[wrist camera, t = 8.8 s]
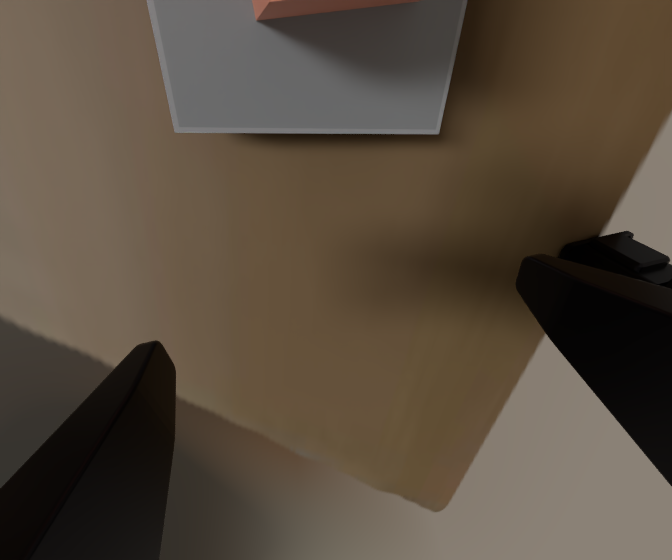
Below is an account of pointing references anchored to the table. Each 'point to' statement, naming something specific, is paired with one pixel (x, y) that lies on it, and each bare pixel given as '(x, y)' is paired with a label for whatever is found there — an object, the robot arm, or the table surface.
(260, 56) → the grey box
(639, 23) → the table surface
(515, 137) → the table surface
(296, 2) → the red cube
